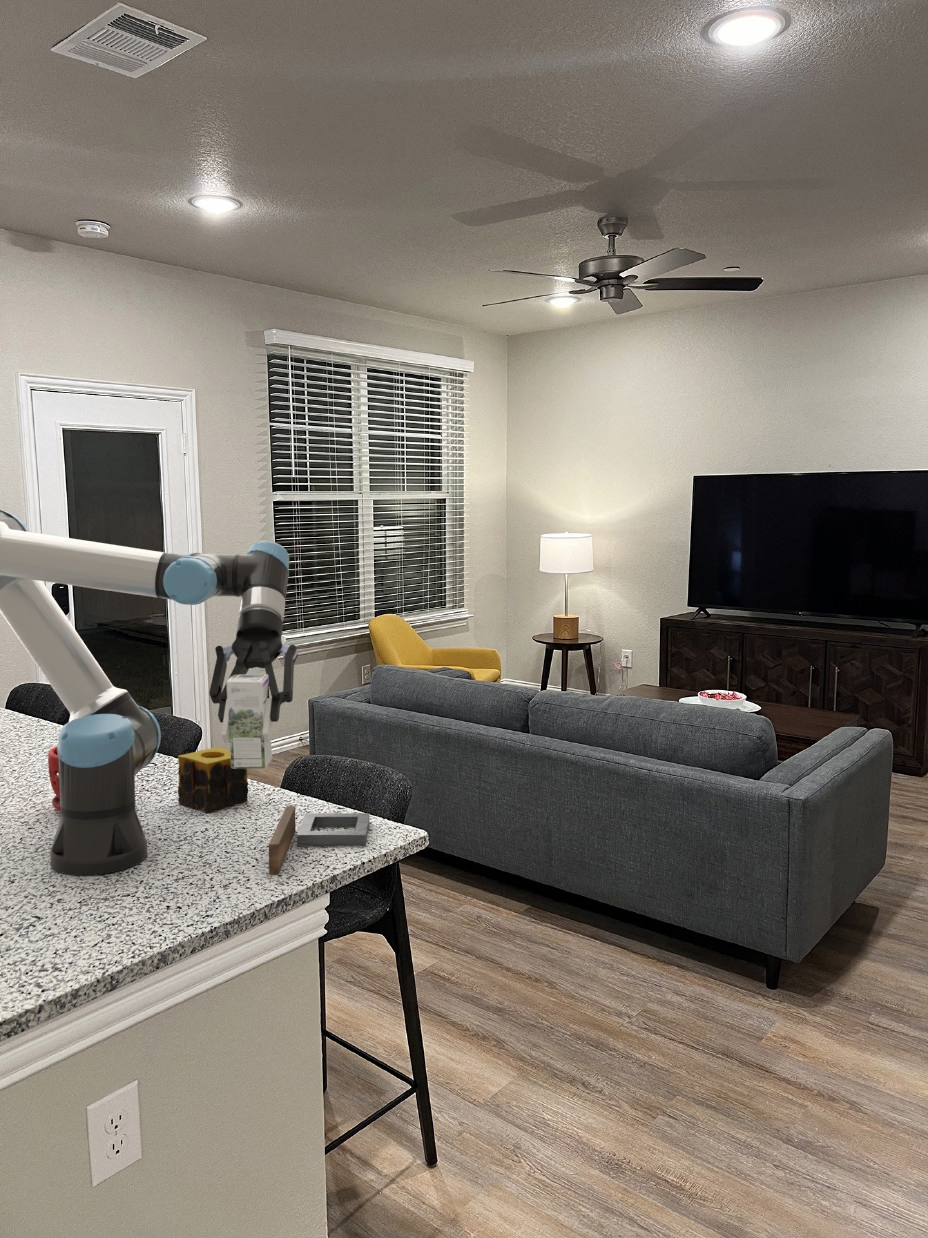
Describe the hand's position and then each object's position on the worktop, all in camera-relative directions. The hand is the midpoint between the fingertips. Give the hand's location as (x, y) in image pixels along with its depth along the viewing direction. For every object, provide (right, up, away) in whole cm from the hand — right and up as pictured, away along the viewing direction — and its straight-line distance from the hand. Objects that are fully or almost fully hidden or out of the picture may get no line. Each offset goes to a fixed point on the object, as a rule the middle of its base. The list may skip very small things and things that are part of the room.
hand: (245, 738), depth 147 cm
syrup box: (0, -5, +4) cm, 7 cm away
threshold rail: (+3, -21, +14) cm, 26 cm away
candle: (-16, -18, +41) cm, 48 cm away
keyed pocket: (+11, -20, +23) cm, 33 cm away
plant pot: (-40, -19, +37) cm, 58 cm away
